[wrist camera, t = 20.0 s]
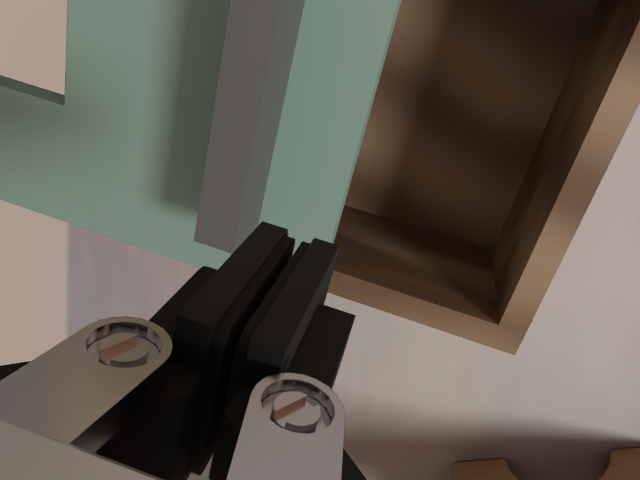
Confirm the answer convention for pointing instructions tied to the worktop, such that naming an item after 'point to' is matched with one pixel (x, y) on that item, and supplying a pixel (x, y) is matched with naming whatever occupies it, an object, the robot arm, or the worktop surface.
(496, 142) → the open wooden box
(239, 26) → the lid
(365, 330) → the worktop surface
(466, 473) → the wooden toy
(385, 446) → the worktop surface
